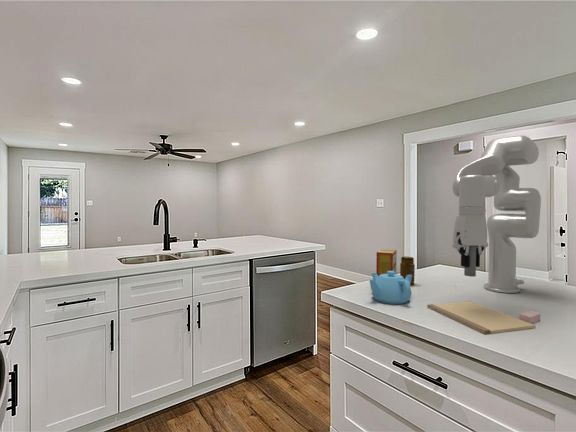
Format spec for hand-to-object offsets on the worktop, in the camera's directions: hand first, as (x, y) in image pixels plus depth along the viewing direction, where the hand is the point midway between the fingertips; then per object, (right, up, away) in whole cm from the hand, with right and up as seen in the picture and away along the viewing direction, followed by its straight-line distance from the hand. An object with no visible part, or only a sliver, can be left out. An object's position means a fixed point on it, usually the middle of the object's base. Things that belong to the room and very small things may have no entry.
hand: (470, 266), depth 110 cm
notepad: (-1, -15, -6) cm, 16 cm away
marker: (0, -3, 0) cm, 3 cm away
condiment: (-8, -14, +36) cm, 39 cm away
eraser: (+13, -16, -9) cm, 23 cm away
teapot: (-23, -15, +14) cm, 30 cm away
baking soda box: (-19, -14, +31) cm, 39 cm away
